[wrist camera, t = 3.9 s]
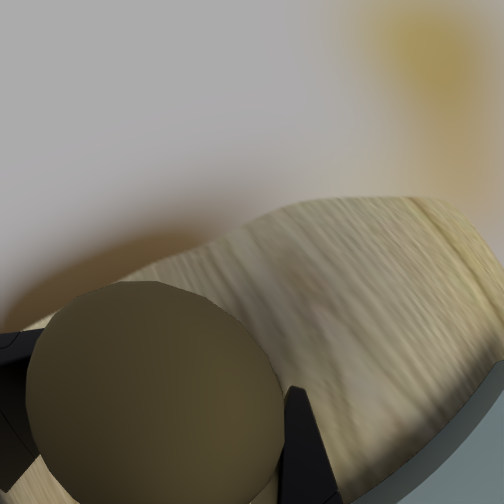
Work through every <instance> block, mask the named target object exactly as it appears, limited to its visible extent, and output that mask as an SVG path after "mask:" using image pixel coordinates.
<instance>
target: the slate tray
mask: <svg viewBox="0 0 504 504" xmlns="http://www.w3.org/2000/svg"><path fill="white" fill-rule="evenodd" d="M350 504H504V360H502V361H499V362H496V363H495V365H494V366H493V368H492V369H491V371H490V372H489V373H488V375H487V376H486V378H485V379H484V380H483V382H482V383H481V384H480V386H479V387H478V388H477V390H476V391H475V392H474V394H473V395H472V396H471V397H470V399H469V400H468V401H467V402H466V403H465V405H464V406H463V407H462V408H461V409H460V410H459V412H458V413H457V414H456V415H455V416H454V417H453V418H452V419H451V421H450V422H449V423H448V424H447V425H446V426H445V427H444V428H443V429H442V430H441V431H440V432H439V433H438V434H437V435H436V436H435V437H434V438H433V439H432V440H431V441H430V442H429V443H428V444H427V445H426V446H425V447H424V448H423V449H421V450H420V451H419V452H418V453H417V454H416V455H415V456H414V457H413V458H411V459H410V460H409V461H408V462H407V463H405V464H404V465H403V466H402V467H401V468H399V469H398V470H397V471H396V472H394V473H393V474H392V475H391V476H389V477H388V478H387V479H385V480H384V481H383V482H381V483H380V484H378V485H377V486H376V487H374V488H373V489H371V490H370V491H368V492H367V493H365V494H364V495H362V496H361V497H359V498H358V499H356V500H355V501H353V502H351V503H350Z"/></svg>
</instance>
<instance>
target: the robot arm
mask: <svg viewBox="0 0 504 504" xmlns="http://www.w3.org/2000/svg"><path fill="white" fill-rule="evenodd" d="M44 329H45V328H42V329H34V330H27V331H22V332H20V331H19V332H12V333H3V334H0V489H1V490H2V491H4V492H5V493H7V492H8V491H9V490H10V489H11V487H12V486H13V485H14V484H15V483H16V481H17V480H18V479H19V478H20V477H21V476H22V475H23V473H24V472H25V471H26V470H27V469H28V468H29V466H30V465H31V464H32V463H33V462H34V461H35V459H36V458H37V457H38V456H39V455H40V452H39V450H38V448H37V446H36V444H35V442H34V440H33V437H32V433H31V428H30V424H29V419H28V415H27V410H26V377H27V369H28V366H29V362H30V359H31V356H32V353H33V350H34V347H35V344H36V341H37V339H38V338H39V336H40V335H41V333H42V332H43V330H44ZM284 439H285V443H284V446H283V448H282V451H281V454H280V457H279V459H278V462H277V465H276V467H275V470H274V473H273V475H272V478H271V480H270V482H269V483H268V484H267V485H266V486H265V487H264V489H263V490H262V491H261V492H260V493H259V494H258V495H257V496H256V497H255V498H254V499H253V500H252V502H251V504H343V501H342V498H341V495H340V492H339V491H338V486H337V483H336V480H335V477H334V474H333V471H332V468H331V465H330V462H329V459H328V456H327V453H326V450H325V447H324V444H323V441H322V438H321V435H320V432H319V429H318V426H317V423H316V420H315V417H314V414H313V411H312V408H311V405H310V402H309V399H308V396H307V393H306V390H305V389H303V388H300V387H297V386H293V385H292V386H290V388H289V390H288V392H287V394H286V396H285V399H284Z"/></svg>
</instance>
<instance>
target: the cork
mask: <svg viewBox="0 0 504 504" xmlns="http://www.w3.org/2000/svg"><path fill="white" fill-rule="evenodd" d="M26 410H27V415H28V419H29V424H30V428H31V433H32V437H33V440H34V442H35V444H36V446H37V448H38V450H39V452H40V454H41V456H42V458H43V460H44V462H45V464H46V466H47V468H48V469H49V471H50V472H51V474H52V475H53V476H54V477H55V478H56V480H57V481H58V482H59V483H60V484H61V485H62V487H63V488H64V489H65V490H66V491H67V492H68V493H69V494H70V495H71V497H72V498H73V499H75V500H76V501H77V502H79V503H80V504H249V503H250V502H251V501H252V500H253V499H254V498H255V497H256V496H257V495H258V494H259V493H260V492H261V491H262V490H263V489H264V487H265V486H266V485H267V484H268V483H269V482H270V480H271V478H272V475H273V473H274V470H275V467H276V465H277V462H278V459H279V457H280V454H281V451H282V448H283V446H284V443H285V439H284V399H283V396H282V390H281V387H280V384H279V382H278V379H277V376H276V374H275V373H274V372H273V370H272V367H271V364H270V362H269V359H268V357H267V355H266V354H265V353H264V352H263V350H262V349H261V348H260V347H259V345H258V344H257V343H256V341H255V340H254V339H253V338H252V336H251V335H250V334H249V333H248V331H247V330H246V329H245V327H244V326H243V325H242V324H241V322H240V321H238V320H237V319H235V318H234V317H232V316H231V315H229V314H228V313H227V312H225V311H224V310H222V309H221V308H219V307H218V306H217V305H215V304H214V303H212V302H211V301H209V300H208V299H207V298H205V297H202V296H200V295H197V294H195V293H191V292H188V291H185V290H182V289H179V288H176V287H173V286H170V285H167V284H164V283H161V282H158V281H137V282H118V283H115V284H112V285H109V286H106V287H103V288H100V289H97V290H94V291H91V292H88V293H86V294H83V295H80V296H78V297H77V298H75V299H74V300H73V301H71V302H70V303H69V304H67V305H66V306H65V307H64V308H62V309H61V310H60V311H59V312H57V313H56V314H55V315H54V316H53V317H52V319H51V320H50V322H49V323H48V324H47V326H46V327H45V329H44V330H43V332H42V333H41V335H40V336H39V338H38V339H37V341H36V344H35V347H34V350H33V353H32V356H31V359H30V362H29V366H28V369H27V377H26Z"/></svg>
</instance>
